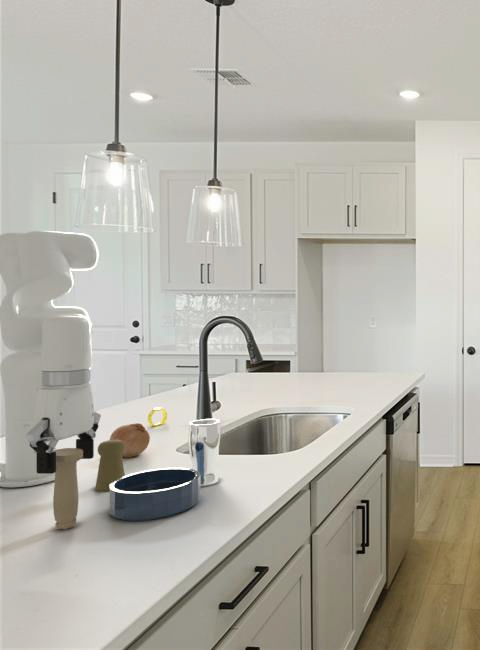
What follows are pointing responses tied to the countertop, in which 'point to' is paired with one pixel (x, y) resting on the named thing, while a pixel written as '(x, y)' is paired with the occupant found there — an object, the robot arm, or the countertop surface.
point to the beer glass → (205, 449)
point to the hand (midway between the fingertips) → (66, 465)
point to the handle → (66, 487)
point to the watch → (153, 412)
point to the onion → (132, 439)
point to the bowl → (154, 494)
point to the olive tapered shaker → (109, 464)
